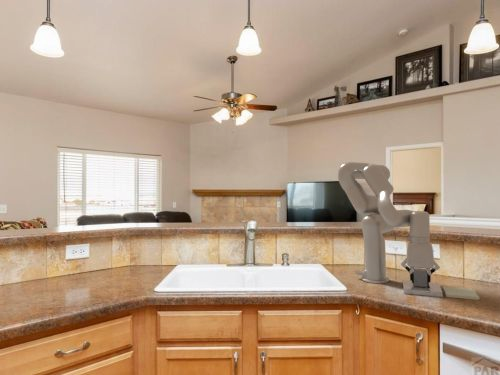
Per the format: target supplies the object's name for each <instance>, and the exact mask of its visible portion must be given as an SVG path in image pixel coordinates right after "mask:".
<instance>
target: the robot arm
mask: <svg viewBox="0 0 500 375" xmlns="http://www.w3.org/2000/svg"><path fill="white" fill-rule="evenodd" d="M390 176H391V172H390V169H389V168H388V167H387V166H386V165H384V164H376V163H367V162H354V161H348V162H345V163H343V164H341V165H340V167H339V168H338V171H337V180H338V182H339V185H340V187H341V189H342V190H343V191H344V192H345V194H346V196H347V198H348V200H349V201H350V203H351V205H352V206H353V208H354V210H355V211H356V213H357V214H359V215H366V216H364V217H363V218H362V220H361V223H360V224H361V225H360V226H361V230H362V231H361V232H362V235H363V251H364V252H363V253H364V254H363V255H364V269H362V270H355V272H354V274H355V275H357V276H361V281H363V282H365V283H369V284H388V283H389V282H391V281H390V280H391V278H389V277H387V269H386V268H387V266H386V265H387V262H386V260H387V259H386V242H385V238H384V235H383V234H385V233H391V231H393V230H394V229H396V228H405V227H406V228H407V227H409V236H406V237H405V238H406V239H405V240H406V241H409V242H408V243H407V249H406V258H405V259H404V260H403V261H402V262H401V263H400V265H401V267H403V268H404V269H405V271H407V272H408V273H409V281H412V283H414V273H413V270H414V268H420V269H426V270H427V285H429V283H432V282H431V276H432V275H433V274H434V273H435V272H436V271H439V269H440V268H441V267H440V264H438V263H437V262H436V261H435V257H434V248H433V244H432V243H430V241H431V238H430V237H431V236H430V234H431V232H430V228H431V227H430V225H431V224H430V214H429V212H428V211H423V210H410V209H397V208H396V207H395V206H394V204H393V203H392V201H391V194H392V193H393V192H394V187H393V185H392V184H391V182H390V181H389V179H390ZM357 180H365V182H366V183H367V185H368V187H369V188H370V189H371V191H372V192H373V194H374V195H373V194H371V195H369V194H367V192H366V191H365V189H364V187H363V186H362V184H360V183H359V182H358V181H357ZM406 264H407V265H406Z"/></svg>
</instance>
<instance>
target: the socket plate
mask: <svg viewBox="0 0 500 375" xmlns="http://www.w3.org/2000/svg"><path fill="white" fill-rule="evenodd" d="M402 287H403V289H402V290H403V294H404V295H414V296H424V297H437V298H443V289H442V288H441V286H440V284H439V282H429V285H427V288H417V287H414V286H413V283H412V281H410V280H402Z"/></svg>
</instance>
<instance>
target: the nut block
mask: <svg viewBox="0 0 500 375" xmlns="http://www.w3.org/2000/svg"><path fill="white" fill-rule="evenodd" d="M413 273H414V283H413V286H414V287H417V288H427V269H426V268H414V270H413Z"/></svg>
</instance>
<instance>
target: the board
mask: <svg viewBox="0 0 500 375" xmlns="http://www.w3.org/2000/svg"><path fill="white" fill-rule="evenodd" d="M442 291H443V292H444V294H445V297H446V298H452V299H453V298H455V299H463V300H464V299H465V300H474V301H475V300H476V301H480V296H479V294H478V293H477V292H476V291H475V290H474V288H466V287H455V286H454V287H453V286H442Z"/></svg>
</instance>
